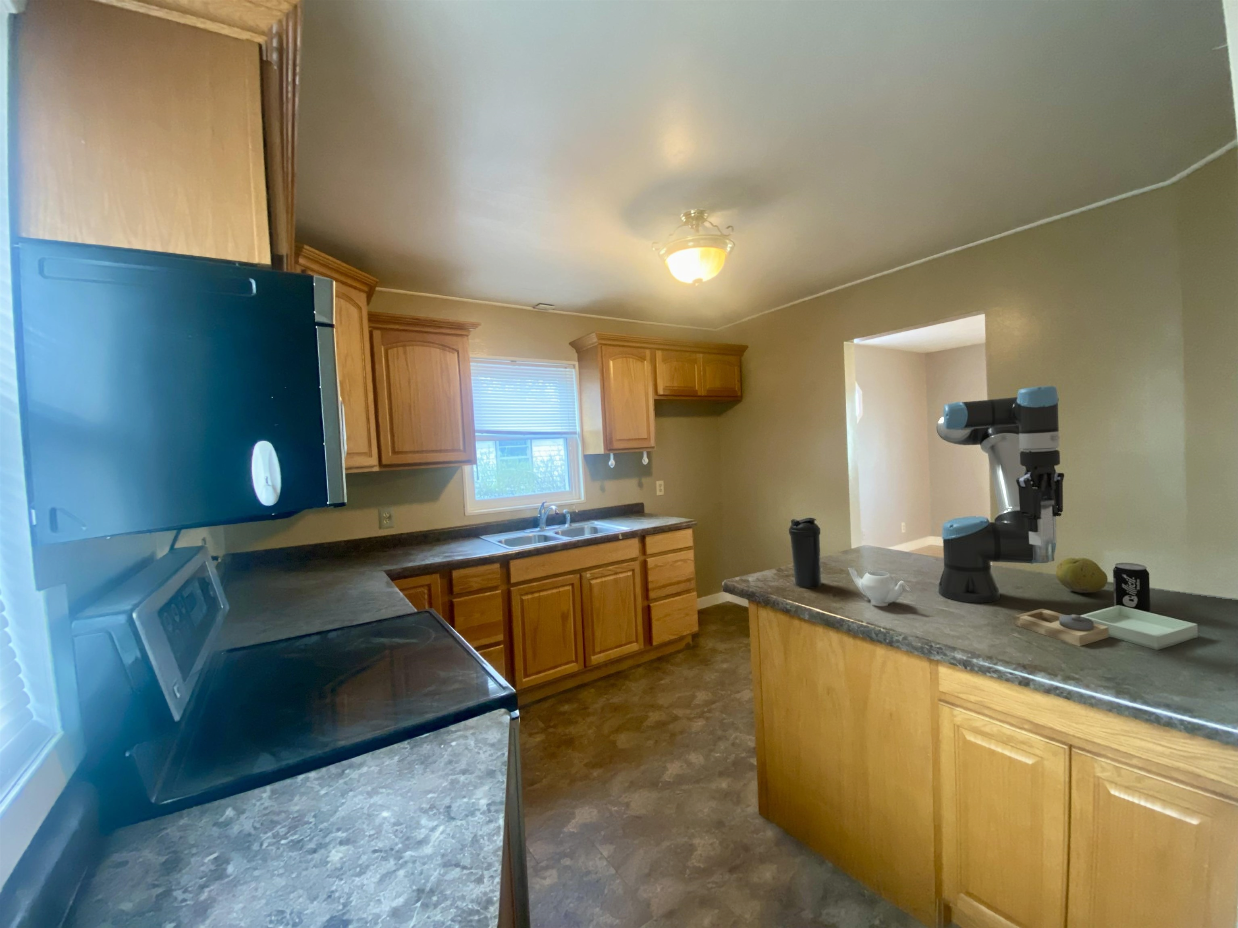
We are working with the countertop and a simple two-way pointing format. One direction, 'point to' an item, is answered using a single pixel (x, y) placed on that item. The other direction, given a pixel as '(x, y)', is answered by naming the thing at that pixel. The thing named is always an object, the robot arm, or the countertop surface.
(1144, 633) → the tray
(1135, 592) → the beverage can
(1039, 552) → the pin
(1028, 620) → the block
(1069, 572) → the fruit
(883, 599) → the teapot
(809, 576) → the water bottle
